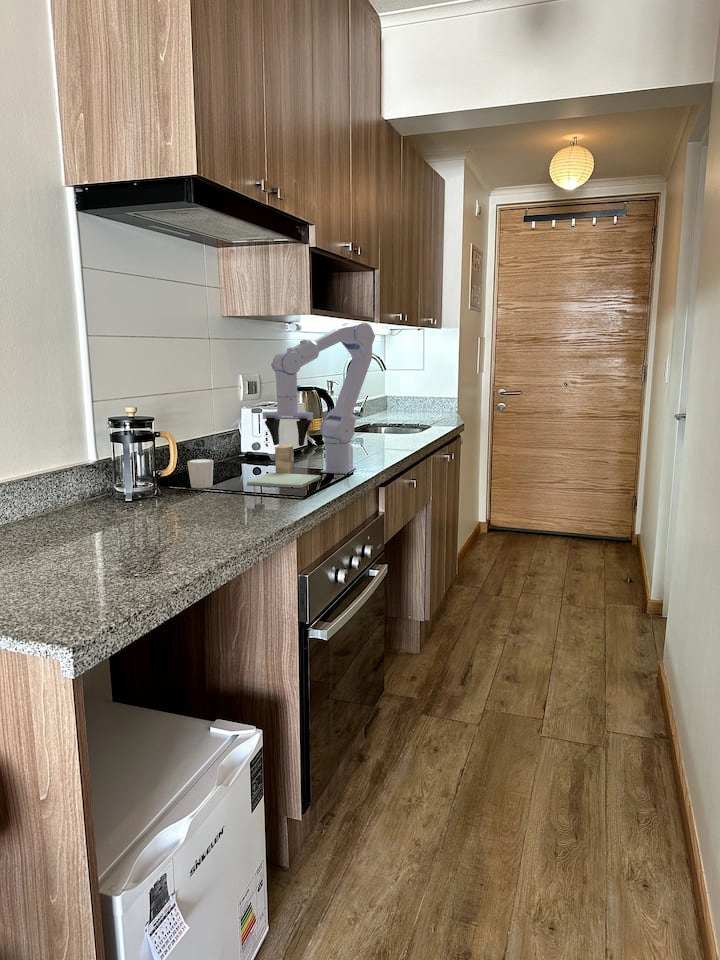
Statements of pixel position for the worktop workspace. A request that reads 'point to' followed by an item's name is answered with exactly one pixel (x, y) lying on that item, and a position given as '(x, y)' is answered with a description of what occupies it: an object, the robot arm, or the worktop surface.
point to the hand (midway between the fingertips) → (288, 445)
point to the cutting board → (284, 480)
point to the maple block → (284, 459)
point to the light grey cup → (201, 473)
